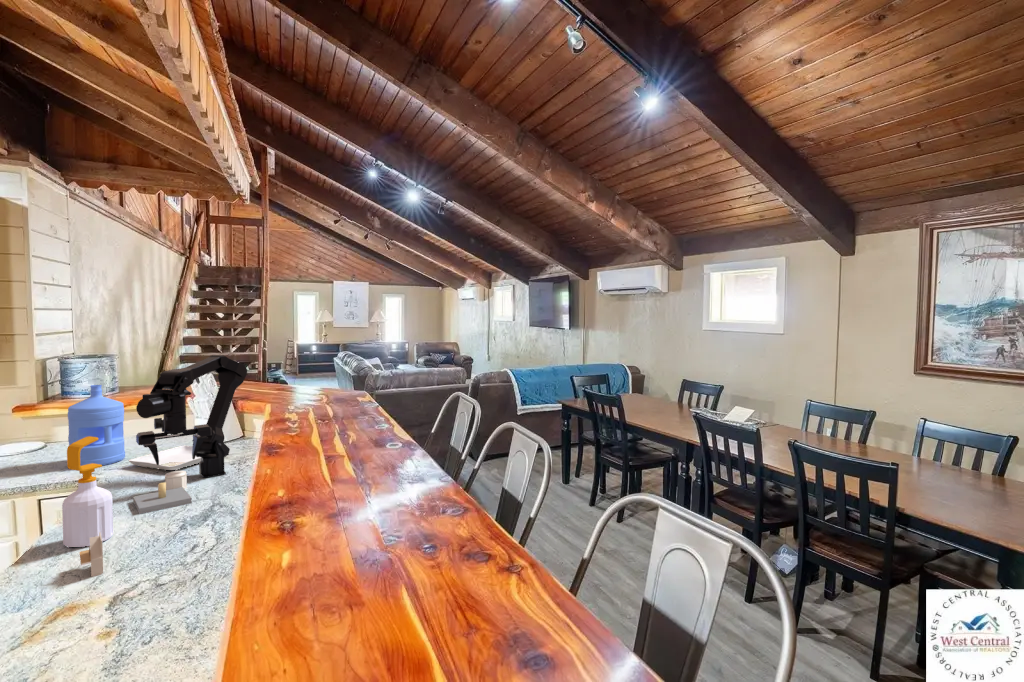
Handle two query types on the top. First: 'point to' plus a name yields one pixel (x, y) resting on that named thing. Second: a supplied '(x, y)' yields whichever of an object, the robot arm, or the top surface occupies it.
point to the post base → (161, 499)
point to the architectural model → (94, 555)
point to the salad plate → (168, 458)
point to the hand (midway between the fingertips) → (175, 461)
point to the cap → (176, 480)
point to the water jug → (98, 428)
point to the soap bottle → (86, 503)
